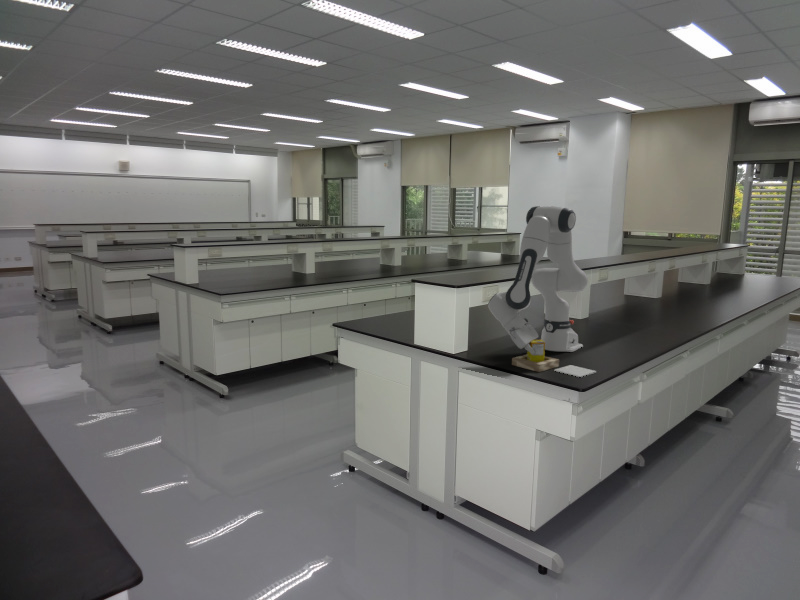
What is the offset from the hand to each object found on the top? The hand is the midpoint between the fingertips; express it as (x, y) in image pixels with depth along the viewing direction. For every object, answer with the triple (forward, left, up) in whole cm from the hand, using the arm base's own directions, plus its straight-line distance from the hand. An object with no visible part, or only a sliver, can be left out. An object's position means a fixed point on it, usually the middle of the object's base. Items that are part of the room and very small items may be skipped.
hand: (537, 351), depth 227 cm
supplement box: (0, -1, -7) cm, 7 cm away
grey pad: (-5, +15, -6) cm, 17 cm away
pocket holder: (0, -1, -6) cm, 6 cm away
